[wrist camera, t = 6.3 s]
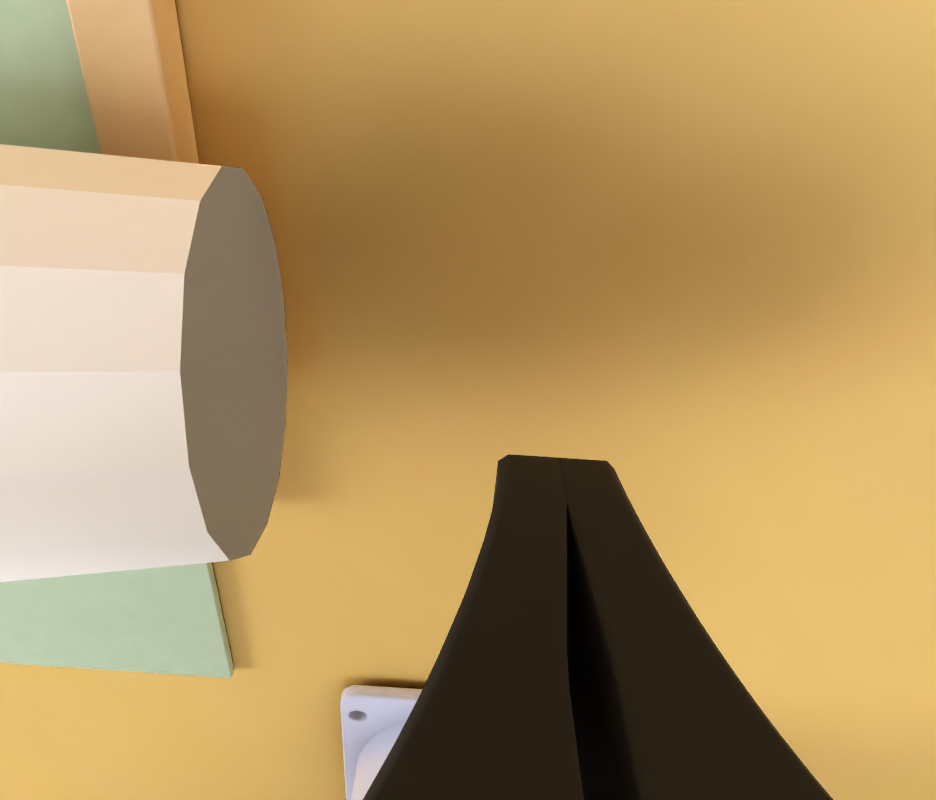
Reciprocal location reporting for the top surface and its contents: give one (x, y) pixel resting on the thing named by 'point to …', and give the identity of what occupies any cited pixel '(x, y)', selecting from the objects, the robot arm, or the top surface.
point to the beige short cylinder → (135, 363)
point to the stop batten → (135, 77)
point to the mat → (110, 593)
